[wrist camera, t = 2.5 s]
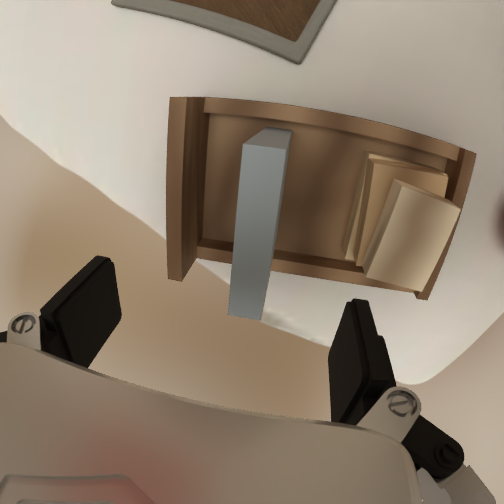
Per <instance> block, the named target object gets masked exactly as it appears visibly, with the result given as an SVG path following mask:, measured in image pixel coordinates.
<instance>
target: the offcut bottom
mask: <svg viewBox="0 0 504 504" xmlns="http://www.w3.org/2000/svg"><path fill="white" fill-rule="evenodd" d="M368 158H374V159H380V160H386V161H392V162H398V163H404V164H409V165H414V166H419V167H424V168H429V169H434V170H438V171H439V172H441V173H443V174H444V175H446V176H447V174H446V173H444V172H442V171H441V170H439V169H437V168H434V167H431V166H427V165H424V164H420V163H417V162H413V161H409V160H406V159H402V158H398V157H394V156H390V155H386V154H382V153H378V152H373V151H369V150H365V149H364V151H363V156H362V161H361V166H360V171H359V176H358V181H357V186H356V191H355V195H354V200H353V204H352V209H351V213H350V217H349V221H348V226H347V230H346V234H345V238H344V242H343V246H342V249H343V253H344V257H345V259H348V260H354V257H353V253H352V252H353V247H354V242H355V236H356V231H357V225H358V220H359V214H360V208H361V202H362V195H363V189H364V182H365V175H366V167H367V160H368ZM354 261H355V260H354Z"/></svg>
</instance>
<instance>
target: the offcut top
mask: <svg viewBox="0 0 504 504" xmlns="http://www.w3.org/2000/svg"><path fill="white" fill-rule="evenodd" d="M460 210H461V209H460V208H458V207H457V206H456V205H455V204H454V203H452V202H451V201H450V200H448V199H445V198H443V197H441V196H438V195H436V194H433V193H431V192H428V191H426V190H423V189H421V188H418V187H416V186H413V185H410V184H408V183H405V182H402V181H400V180H397V179H393V182H392V185H391V188H390V191H389V194H388V197H387V199H386V202H385V205H384V208H383V210H382V213H381V216H380V218H379V221H378V224H377V226H376V229H375V231H374V234H373V236H372V239H371V241H370V244H369V246H368V249H367V251H366V254H365V256H364V258H363V261H362V263H361V264H362V267H363V270H364V273H365V277H367V278H371V279H375V280H379V281H382V282H386V283H390V284H394V285H398V286H401V287H405V288H409V289H413V290H416V291H420V292H422V291H423V289H424V287H425V285H426V283H427V281H428V279H429V277H430V276H431V274H432V272H433V270H434V268H435V266H436V264H437V262H438V260H439V258H440V255H441V253H442V251H443V249H444V247H445V245H446V243H447V240H448V238H449V236H450V234H451V232H452V229H453V227H454V225H455V222H456V220H457V217H458V215H459V213H460Z"/></svg>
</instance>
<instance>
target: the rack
mask: <svg viewBox="0 0 504 504" xmlns="http://www.w3.org/2000/svg"><path fill="white" fill-rule="evenodd" d="M266 127H275V128H282V129H289V130H292V134H291V141H290V149H289V156H288V163H287V170H286V177H285V184H284V191H283V198H282V205H281V212H280V218H279V225H278V231H277V238H276V244H275V249H274V255H273V260H272V265H271V271H277V272H283V273H289V274H296V275H302V276H308V277H314V278H321V279H327V280H333V281H340V282H346V283H352V284H359V285H365V286H372V287H379V288H385V289H392V290H399V291H405V292H412V293H414V294H415V296H416V298H417V299H421V300H428V298H429V295H430V293H431V291H432V289H433V286H434V284H435V282H436V279H437V277H438V274H439V272H440V270H441V267H442V265H443V262H444V259H445V257H446V254H447V252H448V249H449V246H450V244H451V241H452V238H453V235H454V232H455V229H456V226H457V223H458V220H459V217H460V214H461V211H462V207H463V204H464V201H465V197H466V194H467V190H468V187H469V183H470V179H471V175H472V171H473V167H474V163H475V158H476V153H473V152H471V151H468V150H466V149H463V148H461V147H458V146H455V145H453V144H450V143H447V142H444V141H441V140H438V139H435V138H432V137H429V136H425V135H422V134H419V133H416V132H412V131H409V130H405V129H402V128H398V127H395V126H391V125H387V124H383V123H379V122H375V121H371V120H367V119H362V118H358V117H353V116H349V115H344V114H339V113H334V112H329V111H323V110H317V109H312V108H305V107H299V106H292V105H285V104H278V103H269V102H261V101H251V100H240V99H227V98H211V97H170V102H169V118H168V138H167V168H166V237H167V266H168V267H167V268H168V279H171V280H176V281H181V282H182V280H183V279H184V277H185V276H186V274H187V272H188V271H189V269H190V268H191V266H192V264H193V263H194V261H195V260H196V258H200V259H206V260H212V261H217V262H223V263H229V264H232V258H233V246H234V235H235V223H236V212H237V201H238V191H239V180H240V170H241V159H242V149H243V144H244V143H245V142H246V141H248V140H249V139H250V138H252V137H253V136H255V135H256V134H257V133H259V132H260V131H262V130H263V129H264V128H266ZM364 149H365V150H369V151H373V152H378V153H382V154H386V155H390V156H394V157H398V158H402V159H406V160H409V161H413V162H417V163H420V164H424V165H427V166H431V167H434V168H437V169H439V170H441V171H442V172H444V173H446V174H447V176H448V182H447V187H446V192H445V197H444V198H445V199H448V200H450V201H451V202H452V203H454V204H455V205H456V206H457V207H458V208H460V209H461V210H460V213H459V215H458V217H457V220H456V222H455V225H454V227H453V229H452V232H451V234H450V236H449V238H448V240H447V243H446V245H445V247H444V249H443V251H442V253H441V255H440V258H439V260H438V262H437V264H436V266H435V268H434V270H433V272H432V274H431V276H430V277H429V279H428V281H427V283H426V285H425V287H424V289H423V291H422V292H420V291H416V290H413V289H409V288H405V287H401V286H398V285H394V284H390V283H386V282H382V281H379V280H375V279H371V278H367V277H365V273H364V270H363V267H362V266H356V264H355V261H354V260H348V259H345V257H344V253H343V249H342V246H343V242H344V238H345V234H346V230H347V226H348V221H349V217H350V213H351V209H352V204H353V200H354V195H355V191H356V186H357V181H358V176H359V171H360V166H361V161H362V156H363V151H364Z"/></svg>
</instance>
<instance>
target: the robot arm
mask: <svg viewBox="0 0 504 504" xmlns="http://www.w3.org/2000/svg"><path fill="white" fill-rule="evenodd" d="M40 312H41V315H40V316H39V317H38V316H37V315H36V314H35V313H31V312H24V313H20V314H18V315H16V316H15V317H14V318H12V319H11V321H10V322H9V324H8V331H5V332H1V333H0V504H496V501H495V499H494V496H493V495H492V494H491V493H490V491H489V490H488V489H487V487H486V486H485V485H484V483H483V482H482V481H481V480H480V478H479V477H478V476H477V474H476V473H475V472H474V470H473V469H472V468H471V467H470V465H469V466H468V467H466V466H465V465H464V464H463V461H464V452H463V449H462V447H461V446H460V444H459V443H458V442H457V441H455V440H454V439H453V438H451V437H450V436H448V435H447V434H446V433H444V432H443V431H442V430H440V429H439V428H437V427H436V426H435V425H433V424H432V423H431V422H429V421H428V420H426V419H425V418H424V417H422V416H421V415H420V412H421V402H420V400H419V398H418V397H417V395H416V394H415V393H414V392H412V391H411V390H409V389H407V388H404V387H397V386H396V382H395V378H394V374H393V370H392V366H391V362H390V359H389V355H388V351H387V348H386V344H385V340H384V338H383V336H380V335H378V334H377V330H376V326H375V323H374V319H373V316H372V312H371V309H370V306H369V302H368V301H367V300H361V299H353V300H352V301H351V302H347V303H346V306H345V309H344V312H343V315H342V318H341V321H340V324H339V326H338V329H337V332H336V335H335V338H334V340H333V343H332V346H331V349H330V351H329V355H328V366H329V383H330V401H331V422H328V421H320V420H310V419H302V418H294V417H285V416H279V415H272V414H265V413H258V412H252V411H246V410H240V409H235V408H230V407H224V406H219V405H214V404H210V403H205V402H200V401H196V400H192V399H188V398H183V397H179V396H175V395H171V394H167V393H164V392H160V391H156V390H153V389H149V388H146V387H142V386H139V385H136V384H133V383H129V382H126V381H123V380H119V379H117V378H114V377H111V376H107V375H105V374H102V373H99V372H96V371H93V370H90V369H88V367H89V366H90V364H91V363H92V361H93V359H94V358H95V357H96V355H97V353H98V352H99V351H100V349H101V348H102V346H103V345H104V343H105V342H106V340H107V339H108V337H109V336H110V334H111V333H112V332H113V330H114V329H115V327H116V326H117V325H118V323H119V321H120V319H121V316H122V313H121V307H120V301H119V295H118V288H117V282H116V275H115V267H114V263H113V262H111V260H110V258H108V257H103V256H95V257H94V258H93V259H92V260H91V261H90V262H89V263H88V264H87V265H86V266H84V267H83V268H82V269H81V270H80V271H79V272H78V273H77V274H76V275H75V276H74V277H73V278H72V279H71V280H70V281H68V282H67V283H66V285H64V286H63V287H62V288H61V289H60V290H59V291H58V292H57V293H56V294H55V295H54V296H53V297H52V298H51V299H50V300H49V301H48V302H47V303H46V304H45V305H44V306H43V307H42V308H41V309H40ZM422 500H423V501H422Z"/></svg>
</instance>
